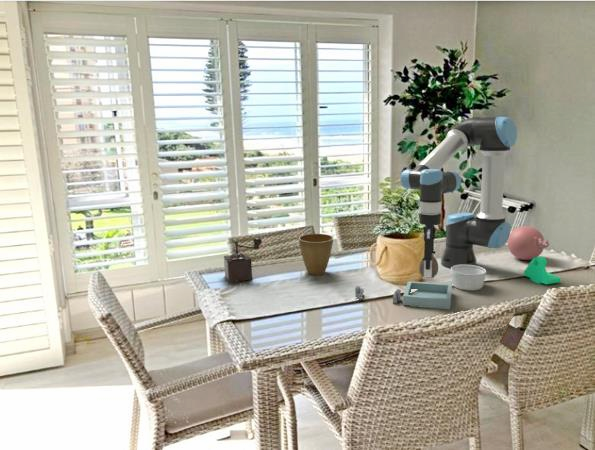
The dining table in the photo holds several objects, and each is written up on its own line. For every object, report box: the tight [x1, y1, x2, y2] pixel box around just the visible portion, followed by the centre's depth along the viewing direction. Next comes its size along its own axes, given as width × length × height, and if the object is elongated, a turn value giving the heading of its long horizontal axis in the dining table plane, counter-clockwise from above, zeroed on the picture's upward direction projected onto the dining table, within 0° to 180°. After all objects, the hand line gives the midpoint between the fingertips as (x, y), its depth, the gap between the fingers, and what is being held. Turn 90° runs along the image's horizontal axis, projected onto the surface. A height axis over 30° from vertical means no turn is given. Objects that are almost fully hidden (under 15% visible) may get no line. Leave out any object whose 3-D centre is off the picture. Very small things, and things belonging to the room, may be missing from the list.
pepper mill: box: [223, 237, 263, 283], centre depth 219 cm, size 16×11×18 cm
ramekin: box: [450, 265, 487, 291], centre depth 201 cm, size 13×13×7 cm
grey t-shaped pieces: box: [354, 285, 402, 305], centre depth 191 cm, size 6×17×4 cm, turn 72°
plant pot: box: [298, 233, 334, 276], centre depth 222 cm, size 15×15×16 cm
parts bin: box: [402, 280, 453, 310], centre depth 189 cm, size 16×16×4 cm
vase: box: [418, 254, 439, 279], centre depth 186 cm, size 7×7×9 cm
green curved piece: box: [523, 255, 562, 285], centre depth 203 cm, size 12×8×10 cm, turn 17°
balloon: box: [507, 225, 550, 261], centre depth 229 cm, size 15×20×15 cm
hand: (428, 274), depth 187 cm, fingers closed on vase, 7 cm apart
